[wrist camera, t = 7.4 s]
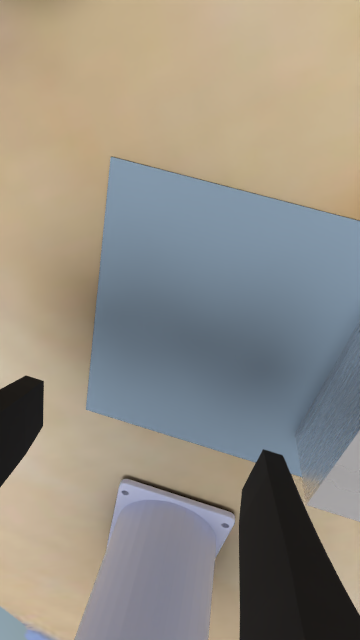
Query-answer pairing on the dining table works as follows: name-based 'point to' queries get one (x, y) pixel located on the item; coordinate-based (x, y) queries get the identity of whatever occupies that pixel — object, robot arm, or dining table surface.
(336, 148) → the dining table surface
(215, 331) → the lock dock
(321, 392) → the aluminium block
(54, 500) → the dining table surface
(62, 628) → the dining table surface
